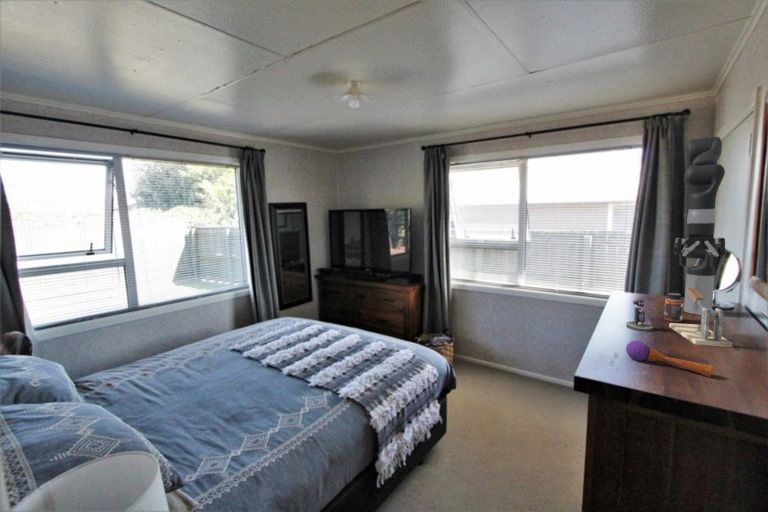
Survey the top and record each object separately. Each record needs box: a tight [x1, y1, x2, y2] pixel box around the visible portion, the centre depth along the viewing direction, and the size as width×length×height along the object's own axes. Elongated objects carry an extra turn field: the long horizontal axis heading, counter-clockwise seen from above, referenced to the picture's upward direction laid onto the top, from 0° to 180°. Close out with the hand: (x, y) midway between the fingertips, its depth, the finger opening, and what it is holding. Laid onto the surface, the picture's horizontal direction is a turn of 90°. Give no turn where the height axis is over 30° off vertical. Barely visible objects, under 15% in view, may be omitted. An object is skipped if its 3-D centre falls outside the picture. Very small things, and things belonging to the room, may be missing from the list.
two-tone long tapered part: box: [625, 340, 714, 378], centre depth 104 cm, size 6×6×20 cm
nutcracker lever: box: [687, 288, 718, 318], centre depth 127 cm, size 17×3×4 cm, turn 161°
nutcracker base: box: [668, 308, 733, 348], centre depth 128 cm, size 20×10×12 cm, turn 161°
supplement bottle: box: [663, 292, 684, 323], centre depth 146 cm, size 6×6×11 cm
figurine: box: [625, 297, 654, 333], centre depth 138 cm, size 8×8×12 cm
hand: (697, 266), depth 129 cm, fingers open, 8 cm apart
